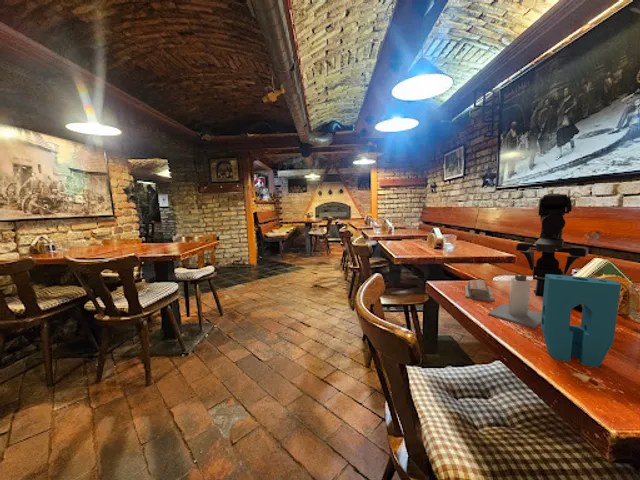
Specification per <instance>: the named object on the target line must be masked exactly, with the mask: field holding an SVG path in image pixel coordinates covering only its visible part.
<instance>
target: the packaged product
mask: <svg viewBox="0 0 640 480" xmlns="http://www.w3.org/2000/svg"><path fill="white" fill-rule="evenodd" d="M464 288H465V291H464V292H465V294H464V295H465V298H467V299H472V300H481V301H486V302H494V300H495V297H494V295H493V291H492V288H491V286H489V285H487V282H486V280H483V279H480V278H479V279H470V280H469V281H467V284H465V285H464Z"/></svg>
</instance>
